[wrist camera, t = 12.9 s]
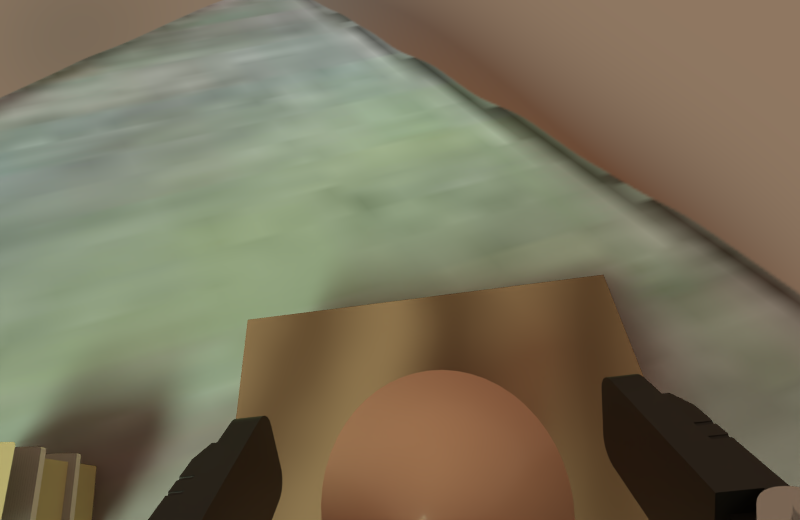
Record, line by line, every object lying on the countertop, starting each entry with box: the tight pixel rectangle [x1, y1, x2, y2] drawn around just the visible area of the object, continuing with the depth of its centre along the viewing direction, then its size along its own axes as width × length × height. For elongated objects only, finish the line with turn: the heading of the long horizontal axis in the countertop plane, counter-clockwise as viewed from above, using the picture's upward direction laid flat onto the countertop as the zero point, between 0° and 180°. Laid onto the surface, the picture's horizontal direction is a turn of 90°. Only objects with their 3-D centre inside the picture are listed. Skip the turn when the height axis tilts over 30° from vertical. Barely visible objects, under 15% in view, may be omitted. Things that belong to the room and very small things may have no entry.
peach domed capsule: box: [321, 370, 575, 520], centre depth 11 cm, size 5×5×8 cm
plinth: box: [236, 275, 649, 520], centre depth 17 cm, size 16×16×5 cm
